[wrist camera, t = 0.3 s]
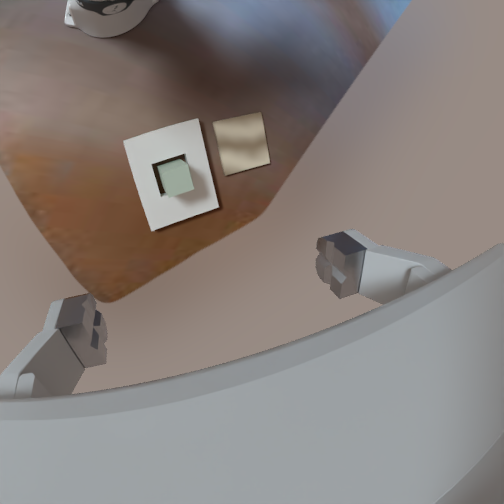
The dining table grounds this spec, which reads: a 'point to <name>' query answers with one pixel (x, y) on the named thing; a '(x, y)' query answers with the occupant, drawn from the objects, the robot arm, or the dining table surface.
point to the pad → (241, 143)
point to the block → (175, 177)
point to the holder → (164, 147)
